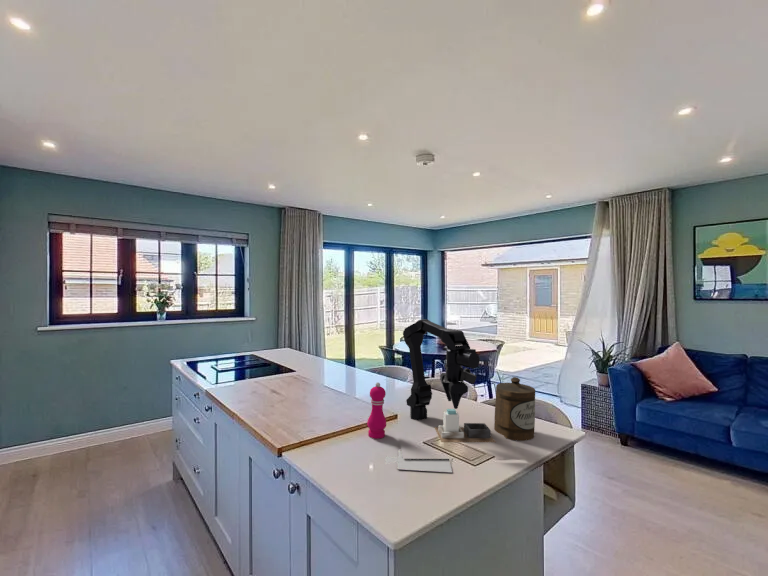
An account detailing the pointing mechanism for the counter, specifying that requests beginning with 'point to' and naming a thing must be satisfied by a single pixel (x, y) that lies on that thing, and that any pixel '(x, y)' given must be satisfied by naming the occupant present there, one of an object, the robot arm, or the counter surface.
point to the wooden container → (515, 410)
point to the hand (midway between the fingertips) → (452, 404)
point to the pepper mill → (377, 413)
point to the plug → (451, 421)
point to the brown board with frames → (466, 433)
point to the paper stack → (419, 463)
